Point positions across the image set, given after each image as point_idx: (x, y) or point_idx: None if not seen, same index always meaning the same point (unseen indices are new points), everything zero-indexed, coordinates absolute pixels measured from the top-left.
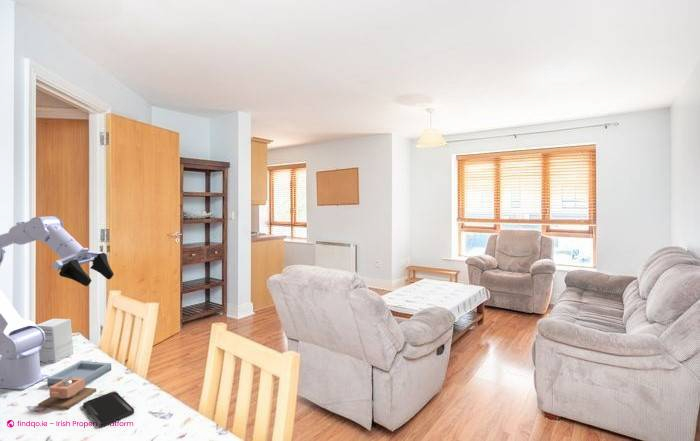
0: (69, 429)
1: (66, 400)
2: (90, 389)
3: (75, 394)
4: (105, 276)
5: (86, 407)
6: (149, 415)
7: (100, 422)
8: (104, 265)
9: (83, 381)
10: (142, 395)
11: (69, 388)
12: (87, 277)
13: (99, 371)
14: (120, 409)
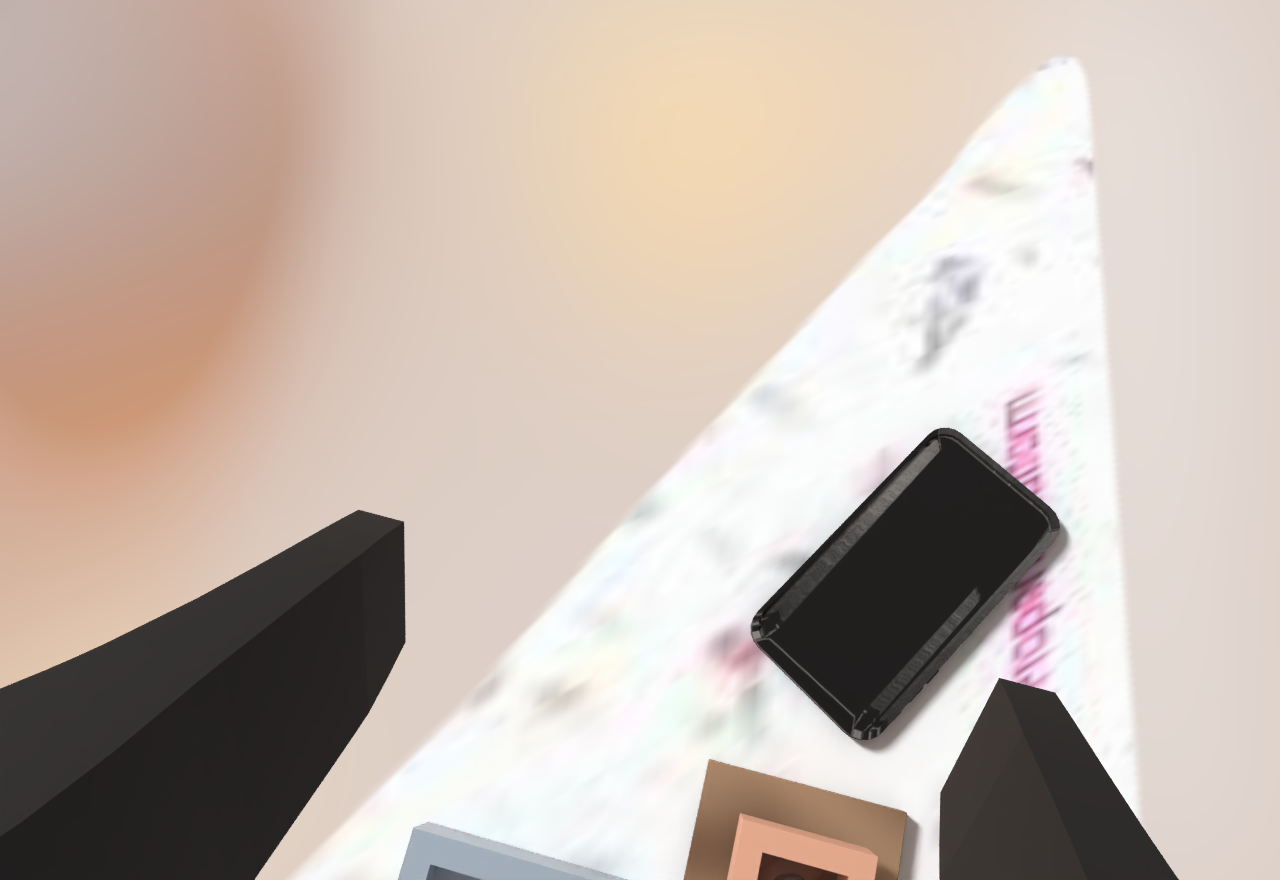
0: (1081, 676)
1: None
2: (717, 791)
3: None
4: (354, 719)
5: (914, 692)
6: (956, 353)
7: (1041, 538)
8: (171, 749)
9: (753, 820)
10: (773, 467)
11: (859, 850)
12: (1092, 758)
13: (511, 855)
14: (927, 500)
